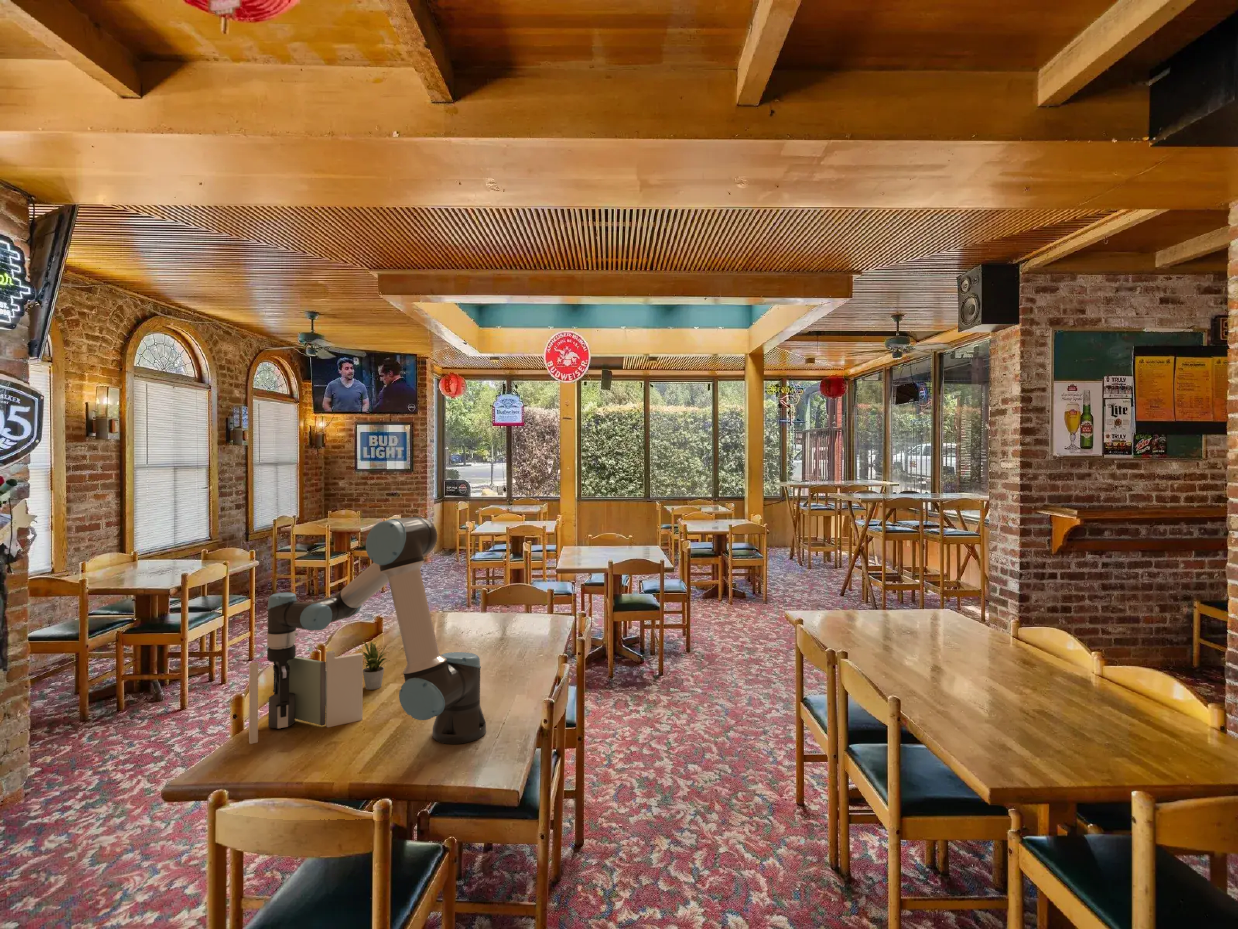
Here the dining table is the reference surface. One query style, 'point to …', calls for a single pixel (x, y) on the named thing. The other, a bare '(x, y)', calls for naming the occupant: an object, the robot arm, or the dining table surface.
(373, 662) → the house plant
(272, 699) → the dark brown cylinder
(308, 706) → the door
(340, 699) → the door frame
